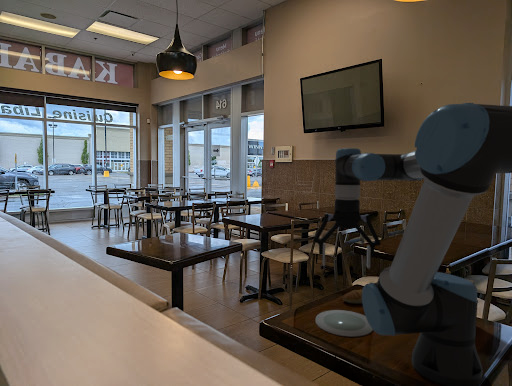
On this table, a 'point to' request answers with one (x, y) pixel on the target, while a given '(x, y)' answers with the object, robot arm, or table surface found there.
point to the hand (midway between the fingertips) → (345, 266)
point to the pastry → (353, 297)
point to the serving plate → (343, 323)
